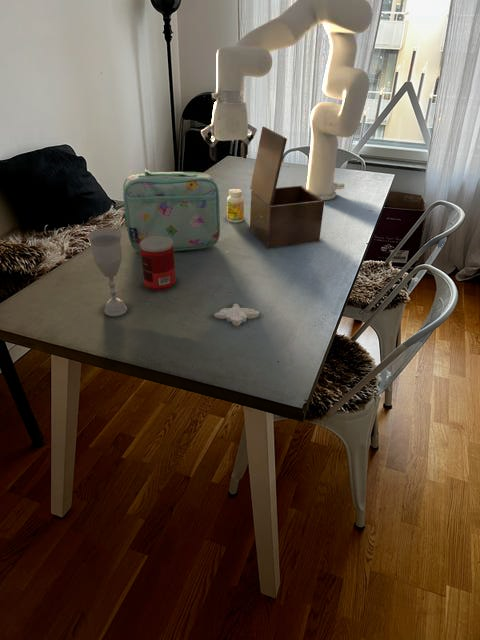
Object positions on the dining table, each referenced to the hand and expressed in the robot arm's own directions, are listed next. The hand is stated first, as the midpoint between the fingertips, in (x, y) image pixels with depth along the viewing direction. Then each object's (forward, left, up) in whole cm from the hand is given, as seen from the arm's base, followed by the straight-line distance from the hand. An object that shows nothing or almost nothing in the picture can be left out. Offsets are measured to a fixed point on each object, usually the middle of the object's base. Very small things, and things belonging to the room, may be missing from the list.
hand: (228, 158), depth 143 cm
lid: (-5, +18, +2) cm, 19 cm away
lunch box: (+22, +16, -19) cm, 34 cm away
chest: (-12, +18, -19) cm, 29 cm away
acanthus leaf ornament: (+17, +56, -19) cm, 62 cm away
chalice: (+42, +45, -19) cm, 65 cm away
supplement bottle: (-2, +2, -19) cm, 19 cm away
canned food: (+30, +36, -19) cm, 51 cm away
